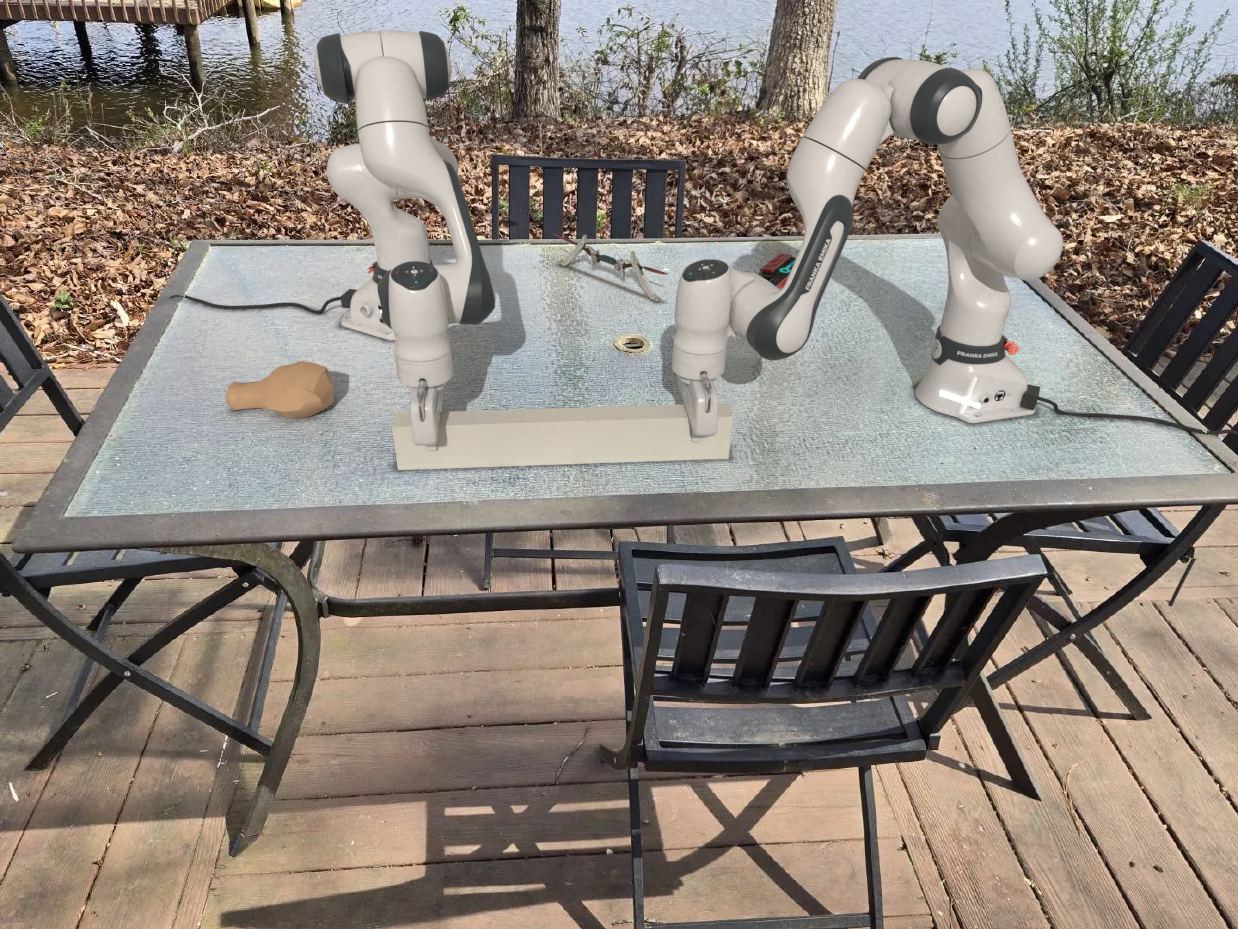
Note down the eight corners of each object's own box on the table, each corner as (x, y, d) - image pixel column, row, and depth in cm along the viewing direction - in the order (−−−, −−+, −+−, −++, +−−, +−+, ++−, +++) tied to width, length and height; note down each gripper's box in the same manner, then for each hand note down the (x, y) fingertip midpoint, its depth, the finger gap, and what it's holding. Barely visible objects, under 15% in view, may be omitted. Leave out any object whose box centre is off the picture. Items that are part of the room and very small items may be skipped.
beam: (398, 470, 148) (391, 427, 143) (400, 455, 152) (395, 412, 147) (728, 458, 153) (733, 416, 148) (723, 444, 157) (727, 403, 152)
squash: (333, 425, 159) (316, 386, 153) (227, 433, 161) (206, 395, 155) (347, 387, 167) (331, 349, 161) (246, 396, 169) (227, 358, 162)
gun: (708, 284, 207) (784, 305, 199) (760, 245, 229) (831, 262, 221) (706, 302, 209) (781, 323, 201) (758, 261, 231) (828, 278, 223)
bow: (669, 303, 208) (671, 262, 203) (664, 305, 207) (666, 264, 202) (556, 260, 230) (555, 222, 224) (551, 262, 228) (550, 224, 223)
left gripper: (440, 397, 132) (448, 473, 139) (448, 337, 148) (454, 407, 156) (397, 398, 131) (407, 474, 139) (410, 338, 148) (419, 408, 156)
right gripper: (730, 389, 136) (723, 463, 144) (706, 332, 153) (701, 401, 160) (690, 390, 135) (685, 464, 143) (670, 333, 152) (667, 402, 160)
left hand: (432, 438), depth 148 cm, fingers closed on beam, 5 cm apart
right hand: (693, 430), depth 152 cm, fingers closed on beam, 5 cm apart
